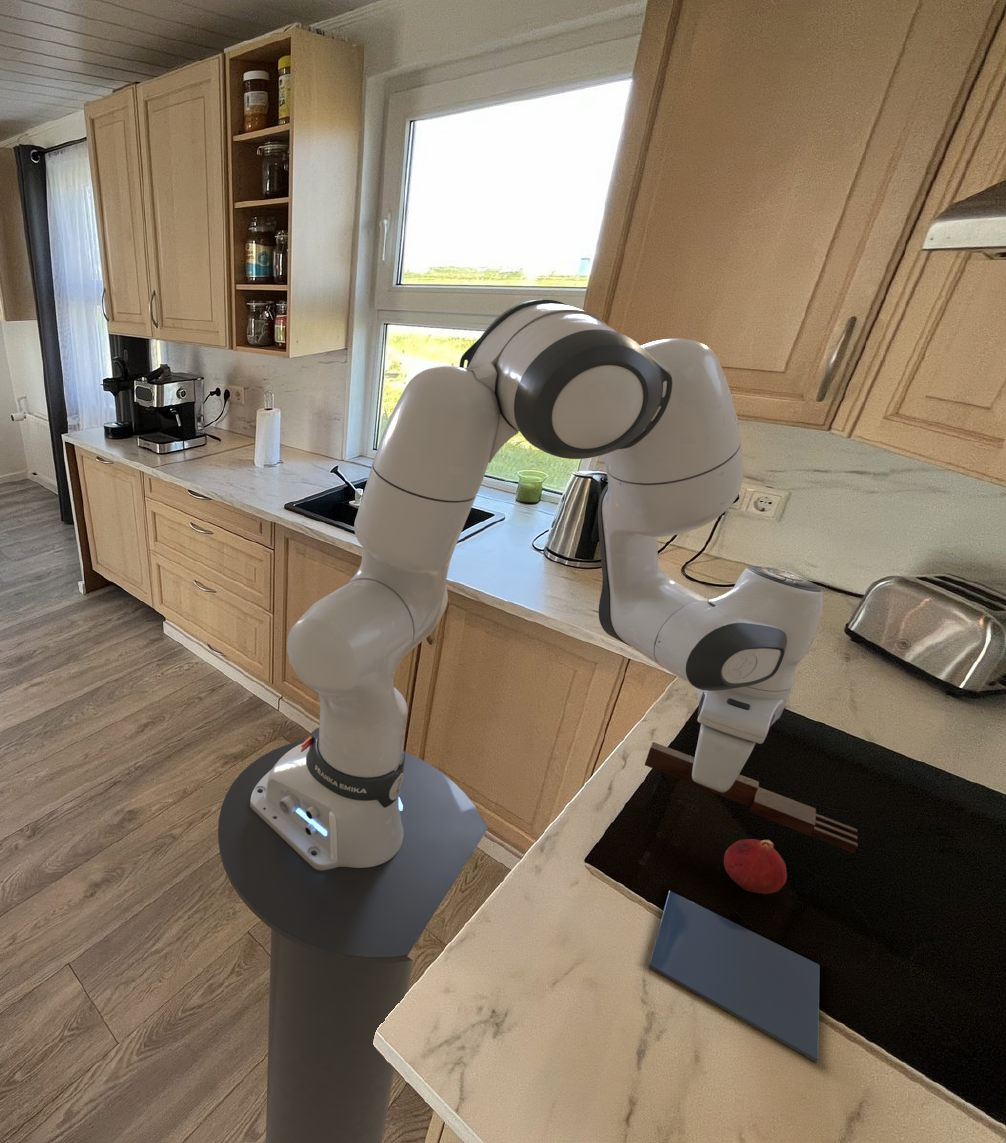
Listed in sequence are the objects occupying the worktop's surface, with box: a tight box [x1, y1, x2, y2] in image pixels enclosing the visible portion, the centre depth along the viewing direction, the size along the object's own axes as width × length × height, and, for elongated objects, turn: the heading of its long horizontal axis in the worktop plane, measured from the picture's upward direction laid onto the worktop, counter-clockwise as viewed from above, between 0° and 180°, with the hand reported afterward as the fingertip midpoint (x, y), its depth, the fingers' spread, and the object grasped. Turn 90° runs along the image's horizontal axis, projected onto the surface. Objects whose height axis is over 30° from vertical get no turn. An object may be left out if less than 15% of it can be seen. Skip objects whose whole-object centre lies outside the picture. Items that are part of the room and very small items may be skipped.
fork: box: [644, 741, 859, 854], centre depth 81 cm, size 22×4×3 cm, turn 49°
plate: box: [648, 890, 821, 1063], centre depth 67 cm, size 14×12×1 cm
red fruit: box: [723, 838, 788, 895], centre depth 74 cm, size 6×6×8 cm
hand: (707, 775), depth 83 cm, fingers closed on fork
